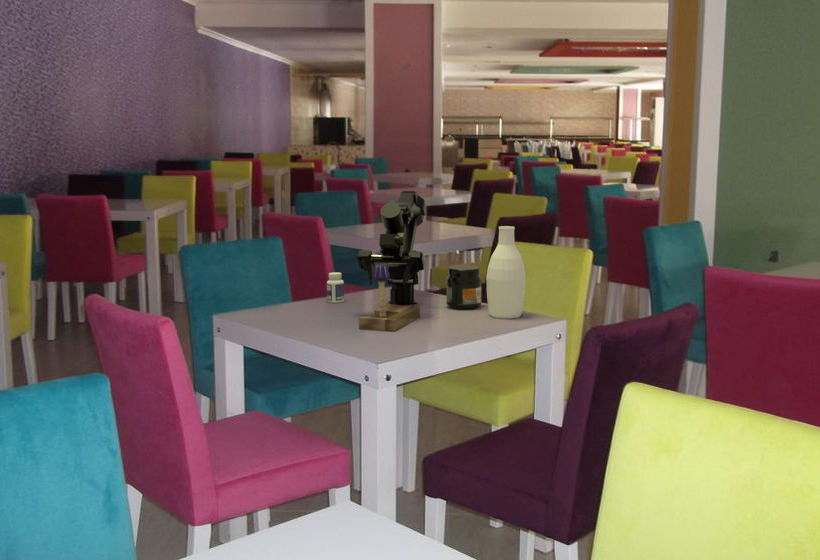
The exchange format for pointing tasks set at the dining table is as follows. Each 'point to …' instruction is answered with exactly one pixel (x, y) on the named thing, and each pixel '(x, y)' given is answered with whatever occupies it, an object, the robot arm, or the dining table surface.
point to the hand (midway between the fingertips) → (386, 284)
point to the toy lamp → (381, 285)
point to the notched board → (390, 318)
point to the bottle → (506, 278)
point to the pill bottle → (335, 288)
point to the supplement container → (463, 287)
